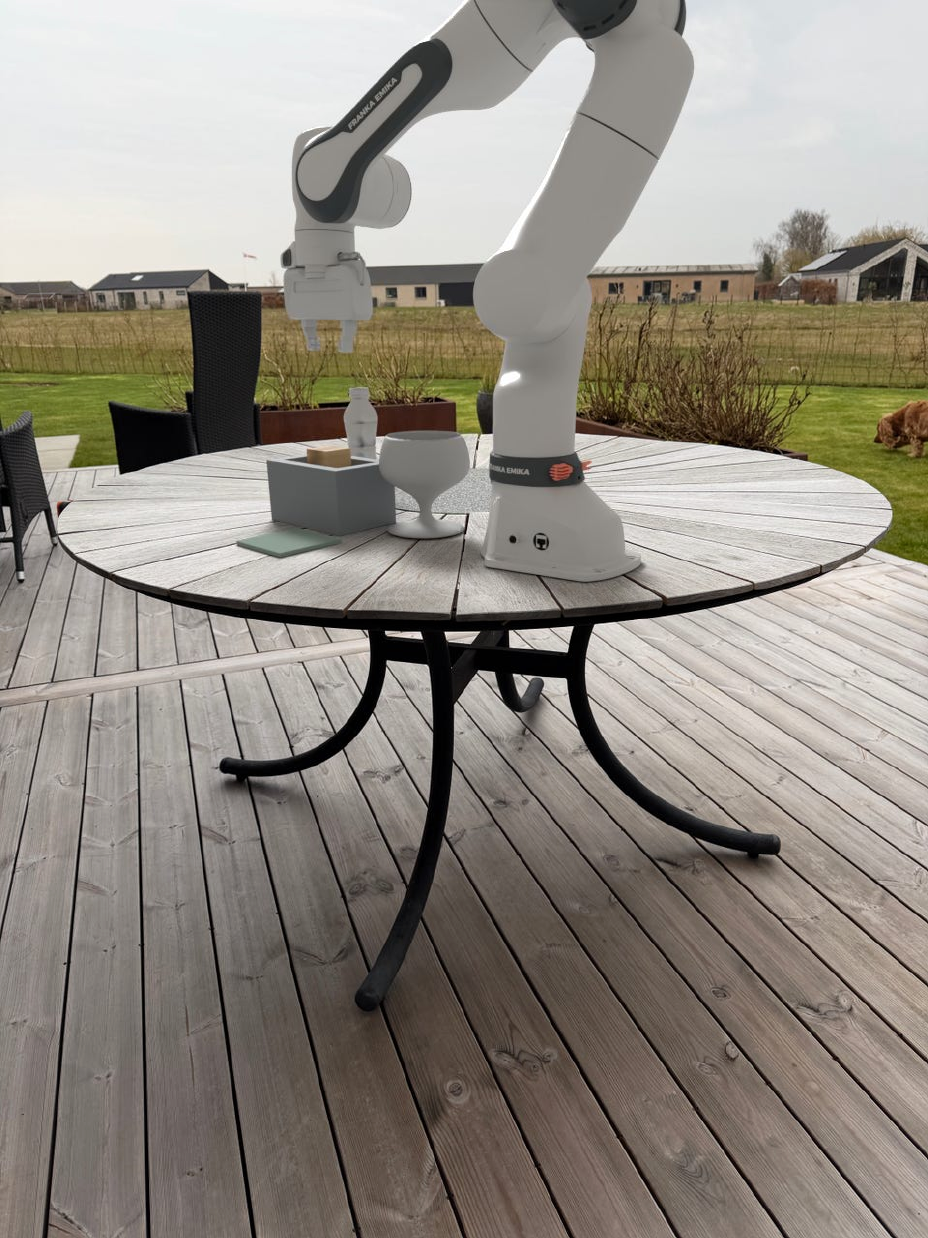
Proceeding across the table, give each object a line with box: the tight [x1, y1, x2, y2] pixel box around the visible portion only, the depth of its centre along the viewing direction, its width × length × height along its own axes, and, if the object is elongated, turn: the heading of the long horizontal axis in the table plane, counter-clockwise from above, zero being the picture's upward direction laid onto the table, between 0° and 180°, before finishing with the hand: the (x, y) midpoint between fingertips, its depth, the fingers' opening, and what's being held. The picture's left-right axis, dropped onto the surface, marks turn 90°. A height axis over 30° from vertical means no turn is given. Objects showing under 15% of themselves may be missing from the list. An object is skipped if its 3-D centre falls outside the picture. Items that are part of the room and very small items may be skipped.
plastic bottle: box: [343, 386, 378, 460], centre depth 150 cm, size 6×7×20 cm
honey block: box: [306, 445, 351, 468], centre depth 129 cm, size 5×5×6 cm
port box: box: [266, 453, 397, 537], centre depth 130 cm, size 18×12×10 cm, turn 48°
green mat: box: [235, 527, 342, 558], centre depth 118 cm, size 11×11×1 cm
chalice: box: [378, 430, 471, 539], centre depth 122 cm, size 14×14×15 cm
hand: (329, 351), depth 123 cm, fingers open, 8 cm apart
